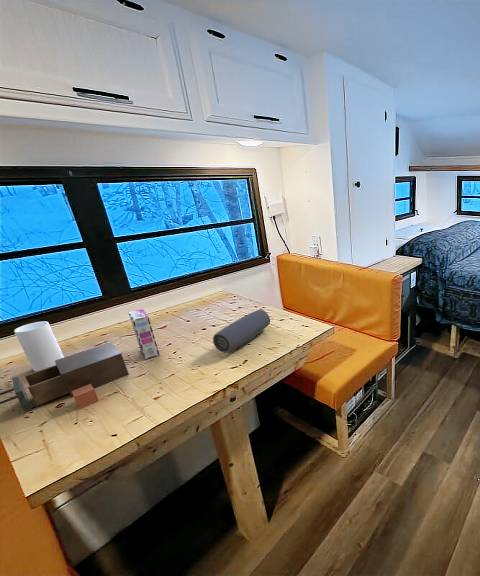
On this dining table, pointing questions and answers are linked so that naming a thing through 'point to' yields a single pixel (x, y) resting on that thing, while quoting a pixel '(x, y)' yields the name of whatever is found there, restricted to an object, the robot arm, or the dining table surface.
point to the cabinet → (92, 367)
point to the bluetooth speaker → (241, 331)
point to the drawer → (39, 387)
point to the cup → (39, 344)
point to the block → (85, 396)
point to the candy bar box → (144, 333)
